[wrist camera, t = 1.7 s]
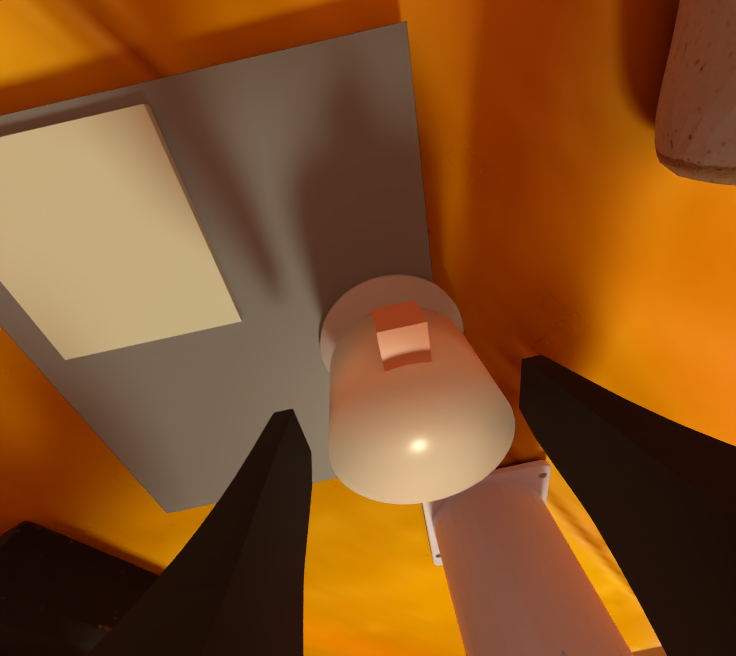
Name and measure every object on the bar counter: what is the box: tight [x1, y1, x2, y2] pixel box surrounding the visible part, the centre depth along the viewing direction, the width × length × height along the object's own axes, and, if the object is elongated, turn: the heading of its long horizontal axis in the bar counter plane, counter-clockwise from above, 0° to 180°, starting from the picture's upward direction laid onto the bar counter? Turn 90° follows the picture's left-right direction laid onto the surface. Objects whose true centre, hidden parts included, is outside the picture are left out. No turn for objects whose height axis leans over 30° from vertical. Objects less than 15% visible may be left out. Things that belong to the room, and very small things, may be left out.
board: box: [0, 21, 464, 513], centre depth 13 cm, size 18×17×3 cm
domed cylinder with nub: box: [329, 300, 515, 504], centre depth 10 cm, size 6×5×4 cm
